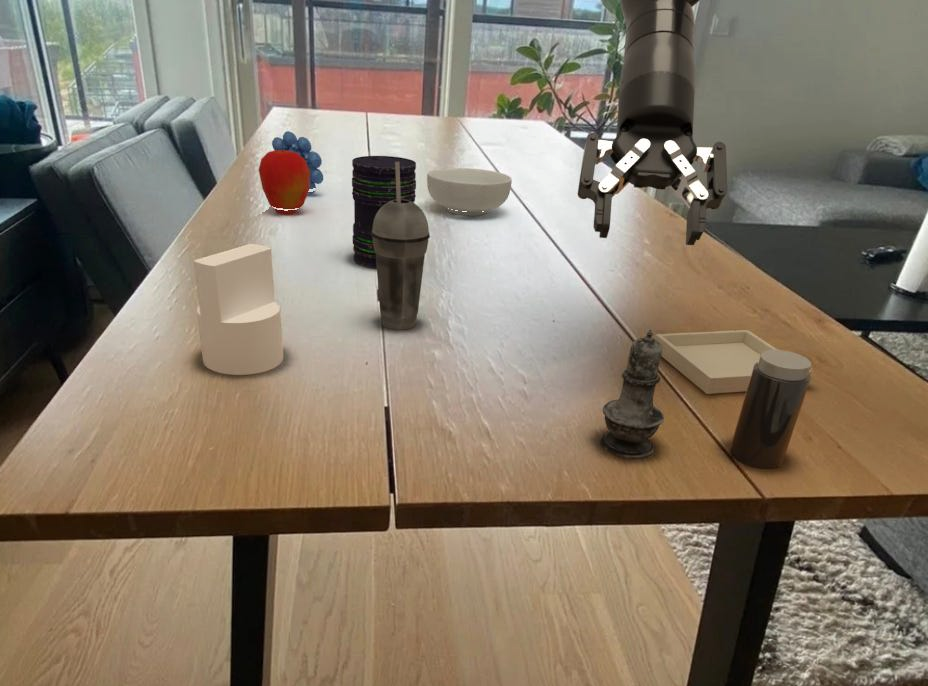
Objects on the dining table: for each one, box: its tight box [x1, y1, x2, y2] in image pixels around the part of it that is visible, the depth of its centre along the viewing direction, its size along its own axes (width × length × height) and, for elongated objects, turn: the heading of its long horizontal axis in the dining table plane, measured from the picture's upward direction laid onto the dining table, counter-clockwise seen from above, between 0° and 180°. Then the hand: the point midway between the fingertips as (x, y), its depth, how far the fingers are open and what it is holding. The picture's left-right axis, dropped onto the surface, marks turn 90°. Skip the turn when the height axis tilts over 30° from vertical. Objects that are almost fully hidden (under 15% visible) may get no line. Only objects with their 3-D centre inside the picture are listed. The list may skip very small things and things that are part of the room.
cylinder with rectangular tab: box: [193, 243, 284, 376], centre depth 85 cm, size 9×9×12 cm
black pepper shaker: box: [729, 349, 812, 469], centre depth 72 cm, size 5×5×10 cm
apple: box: [258, 146, 310, 216], centre depth 144 cm, size 9×9×12 cm
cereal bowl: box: [426, 167, 513, 217], centre depth 153 cm, size 17×17×7 cm
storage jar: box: [351, 155, 417, 270], centre depth 120 cm, size 10×10×15 cm
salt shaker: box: [599, 328, 665, 459], centre depth 72 cm, size 6×6×12 cm
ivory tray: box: [654, 329, 812, 395], centre depth 93 cm, size 13×13×2 cm
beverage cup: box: [371, 162, 431, 331], centre depth 95 cm, size 7×7×20 cm
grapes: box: [271, 130, 324, 195], centre depth 156 cm, size 12×7×12 cm, turn 75°
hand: (648, 237), depth 75 cm, fingers open, 8 cm apart
